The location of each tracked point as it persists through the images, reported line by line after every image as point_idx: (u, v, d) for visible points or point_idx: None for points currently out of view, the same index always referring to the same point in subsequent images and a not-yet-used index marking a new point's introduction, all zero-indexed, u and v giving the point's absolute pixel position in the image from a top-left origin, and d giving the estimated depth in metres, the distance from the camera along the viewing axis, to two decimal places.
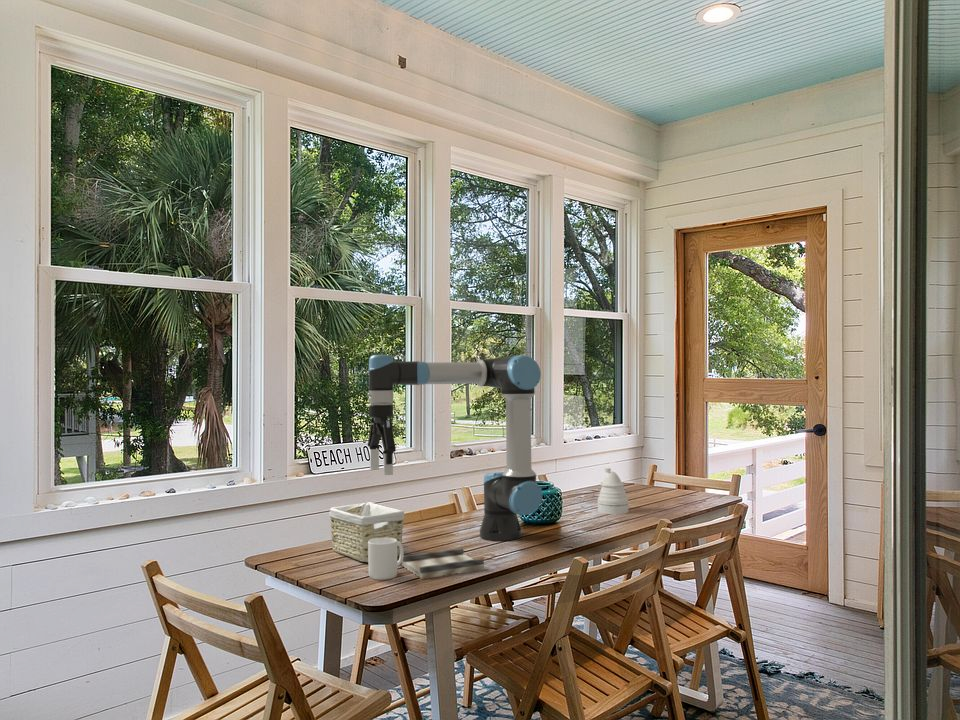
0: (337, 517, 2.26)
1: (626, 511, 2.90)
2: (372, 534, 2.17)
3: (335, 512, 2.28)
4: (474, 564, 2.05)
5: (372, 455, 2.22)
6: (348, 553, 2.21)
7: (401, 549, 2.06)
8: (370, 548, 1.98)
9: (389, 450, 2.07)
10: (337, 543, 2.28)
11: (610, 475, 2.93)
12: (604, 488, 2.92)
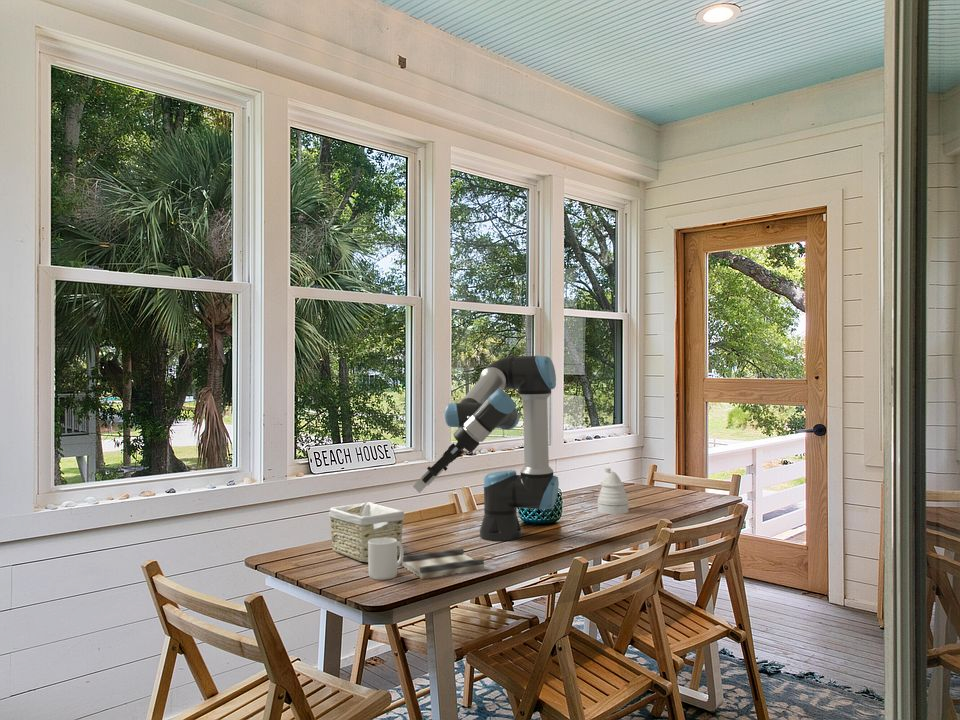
0: (337, 517, 2.26)
1: (626, 511, 2.90)
2: (372, 534, 2.16)
3: (335, 512, 2.28)
4: (474, 564, 2.05)
5: None
6: (348, 553, 2.21)
7: (401, 549, 2.06)
8: (370, 548, 1.98)
9: (431, 469, 1.92)
10: (337, 543, 2.28)
11: (610, 475, 2.93)
12: (604, 488, 2.92)
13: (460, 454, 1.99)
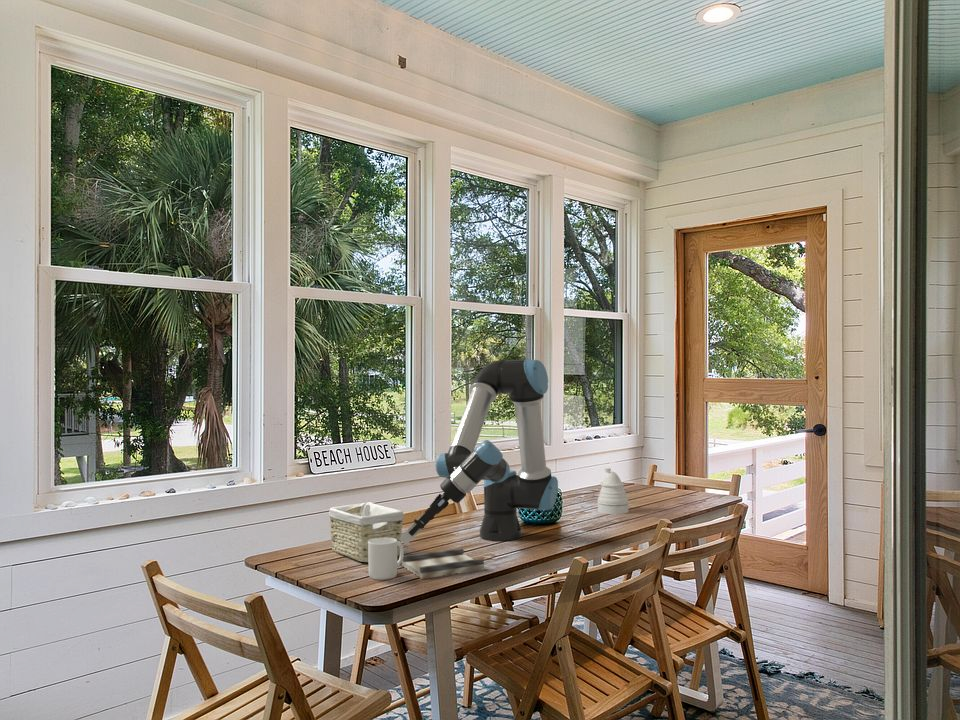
0: (336, 517, 2.26)
1: (626, 511, 2.90)
2: (371, 534, 2.16)
3: (334, 512, 2.28)
4: (474, 564, 2.05)
5: (420, 519, 2.08)
6: (347, 553, 2.21)
7: (401, 549, 2.06)
8: (370, 548, 1.98)
9: (418, 523, 1.91)
10: (336, 543, 2.28)
11: (610, 475, 2.93)
12: (604, 488, 2.92)
13: (447, 505, 1.99)
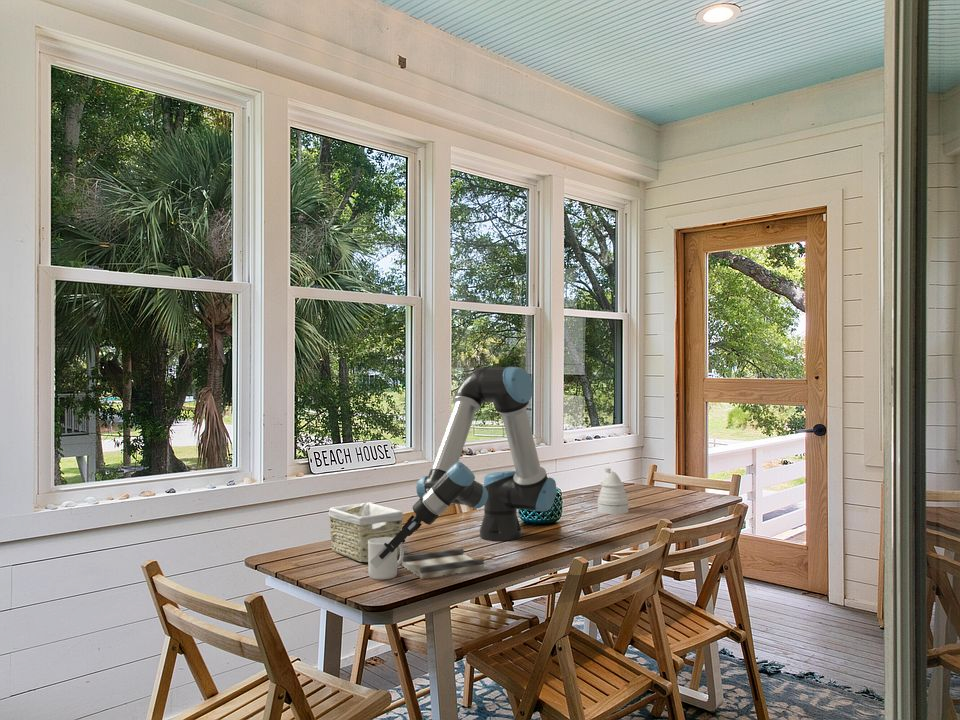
0: (336, 517, 2.26)
1: (626, 511, 2.90)
2: (370, 534, 2.16)
3: (334, 512, 2.28)
4: (474, 564, 2.05)
5: None
6: (347, 553, 2.21)
7: (401, 549, 2.06)
8: (370, 548, 1.99)
9: (387, 546, 1.93)
10: (336, 543, 2.28)
11: (610, 475, 2.93)
12: (604, 488, 2.92)
13: None
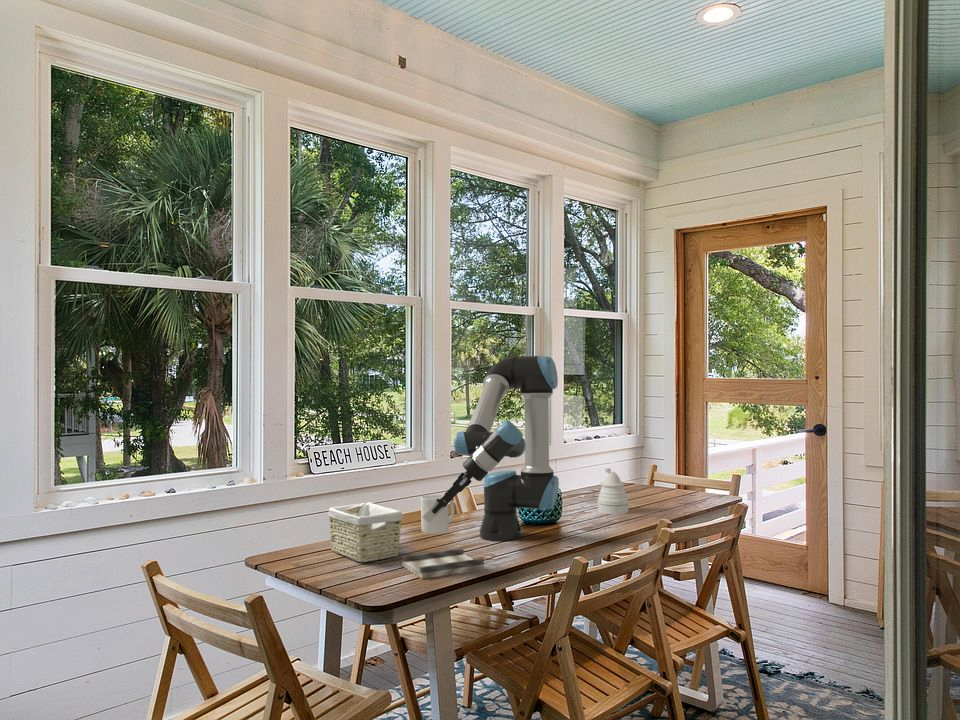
0: (335, 517, 2.26)
1: (626, 511, 2.90)
2: (369, 534, 2.16)
3: (333, 512, 2.28)
4: (474, 564, 2.05)
5: None
6: (346, 553, 2.21)
7: (452, 506, 2.13)
8: (422, 504, 2.07)
9: (440, 501, 2.01)
10: (335, 543, 2.28)
11: (610, 475, 2.93)
12: (604, 488, 2.92)
13: None
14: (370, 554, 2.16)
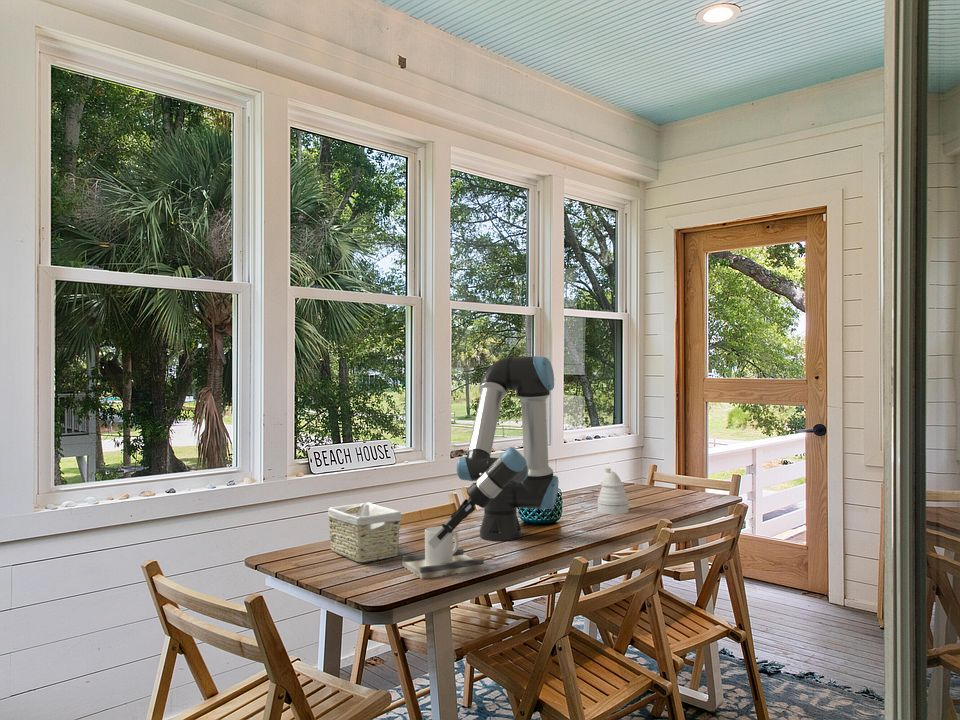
0: (335, 517, 2.26)
1: (626, 511, 2.90)
2: (368, 534, 2.16)
3: (333, 512, 2.28)
4: (474, 564, 2.05)
5: (446, 523, 2.16)
6: (345, 553, 2.21)
7: (456, 538, 2.13)
8: (427, 536, 2.06)
9: (446, 527, 1.99)
10: (335, 543, 2.28)
11: (610, 475, 2.93)
12: (604, 488, 2.92)
13: (473, 510, 2.07)
14: (369, 554, 2.16)
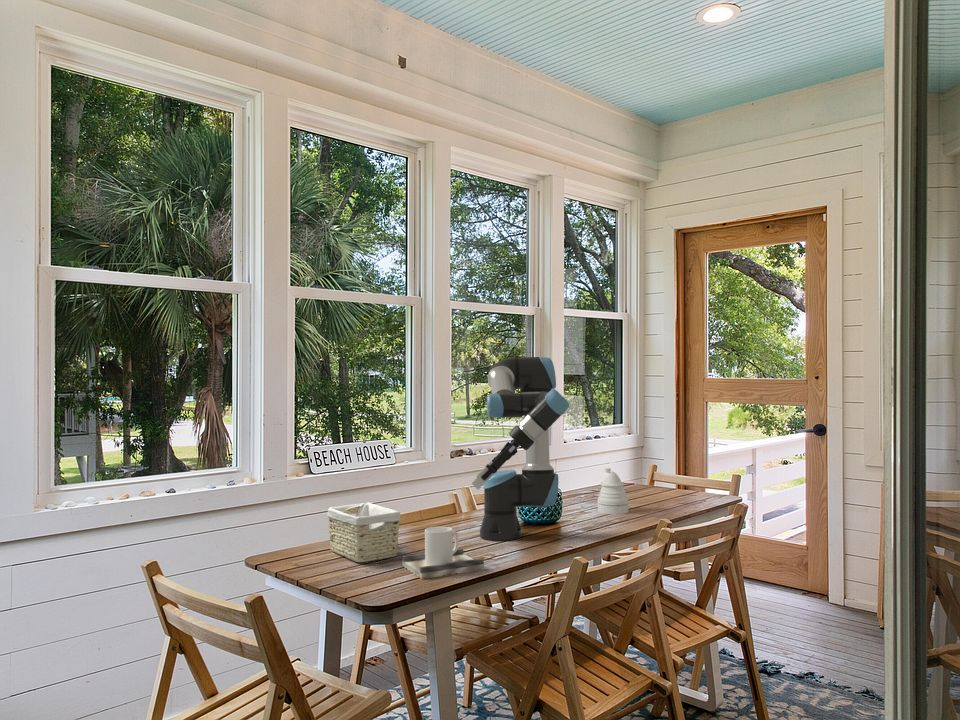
0: (334, 517, 2.26)
1: (626, 511, 2.90)
2: (367, 534, 2.16)
3: (332, 512, 2.28)
4: (474, 564, 2.05)
5: None
6: (344, 553, 2.21)
7: (456, 538, 2.13)
8: (426, 536, 2.06)
9: (490, 467, 1.98)
10: (334, 543, 2.28)
11: (610, 475, 2.93)
12: (604, 488, 2.92)
13: (516, 452, 2.06)
14: (368, 554, 2.16)
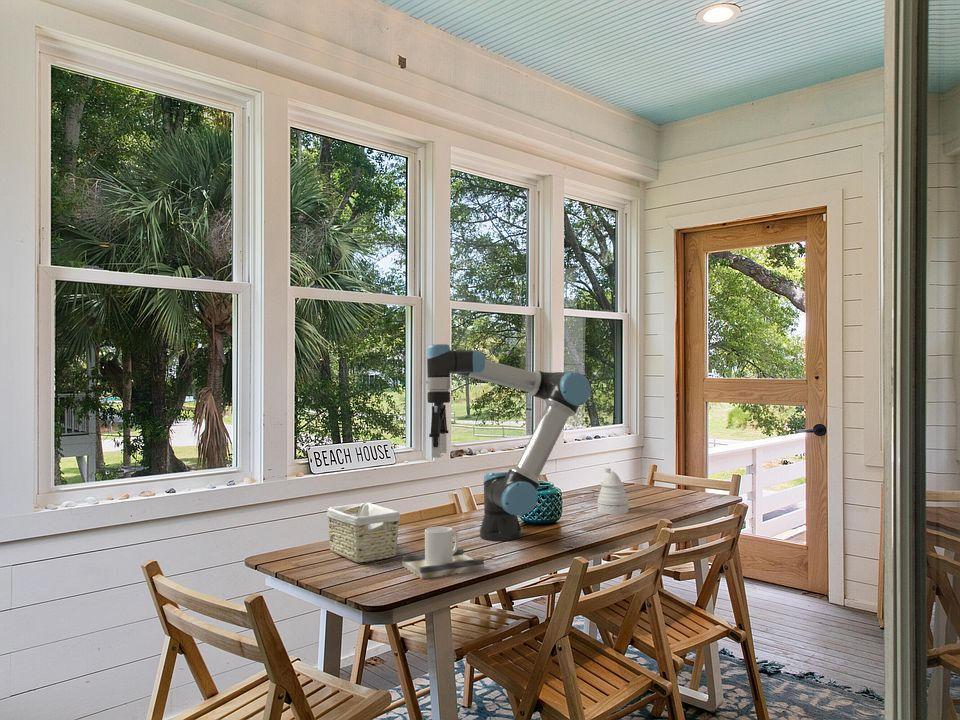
0: (334, 517, 2.26)
1: (626, 511, 2.90)
2: (366, 535, 2.16)
3: (332, 512, 2.28)
4: (474, 564, 2.05)
5: (439, 439, 2.36)
6: (343, 553, 2.21)
7: (456, 538, 2.13)
8: (426, 536, 2.06)
9: (432, 434, 2.19)
10: (334, 543, 2.28)
11: (610, 475, 2.93)
12: (604, 488, 2.92)
13: (443, 409, 2.28)
14: (367, 554, 2.16)
